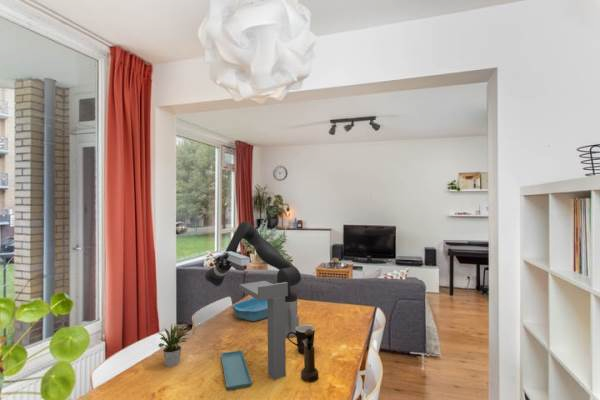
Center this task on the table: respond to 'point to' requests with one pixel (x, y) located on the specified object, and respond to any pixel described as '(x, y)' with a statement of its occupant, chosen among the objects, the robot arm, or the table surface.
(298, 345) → the coffee mug
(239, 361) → the teal serving tray
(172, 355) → the house plant
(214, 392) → the table surface
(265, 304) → the casserole dish
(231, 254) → the grey rectangular box
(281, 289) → the grey gallows post
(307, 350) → the mortar and pestle
